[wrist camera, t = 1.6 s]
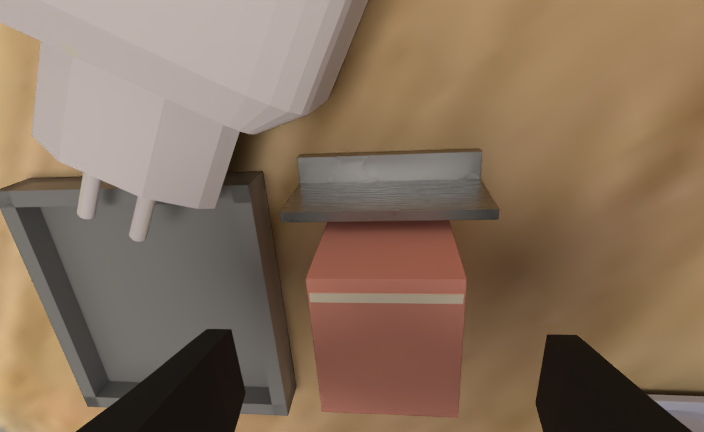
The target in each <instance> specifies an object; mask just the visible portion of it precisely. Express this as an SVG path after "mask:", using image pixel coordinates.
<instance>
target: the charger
mask: <svg viewBox="0 0 704 432" xmlns="http://www.w3.org/2000/svg"><path fill="white" fill-rule="evenodd" d="M367 2H368V0H0V23H2V24H4V25H7V26H9V27H11V28H13V29H15V30H17V31H20V32H22V33H24V34H26V35H28V36H31V37H33V38H35V39H37V40H39V41H41V44H40V55H39V65H38V75H37V85H36V96H35V106H34V116H33V126H32V136H33V137H34V138H35V139H36V140H37V141H38V142H39V143H40V144H41V145H42V146H43V147H44V148H45V149H46V150H47V151H48V152H49V153H50V154H51V155H52V156H53V157H54V158H55V159H56V160H58V161H59V162H61V163H63V164H65V165H68V166H70V167H72V168H75V169H77V170H79V171H81V172H83V177H82V183H81V189H80V195H79V202H78V208H77V214H78V216H79V217H80V218H82V219H92V218H94V217H95V215H96V209H97V204H98V199H99V193H100V188H101V182H102V181H104V182H107V183H109V184H111V185H113V186H116V187H118V188H120V189H123V190H125V191H127V192H129V193H132V194H134V195H136V196H138V197H137V202H136V206H135V210H134V215H133V219H132V223H131V228H130V232H129V236H130V238H131V239H132V240H134V241H137V242H141V241H145V240H146V238H147V234H148V230H149V226H150V222H151V218H152V214H153V211H154V207H155V203H156V201H160V202H165V203H170V204H175V205H180V206H185V207H190V208H195V209H215V206H216V203H217V200H218V197H219V194H220V191H221V188H222V185H223V182H224V179H225V176H226V172H227V169H228V166H229V163H230V160H231V157H232V154H233V151H234V148H235V145H236V142H237V139H238V135H239V132H244V133H247V134H252V135H253V134H258V133H261V132H264V131H266V130H269V129H272V128H274V127H277V126H280V125H282V124H285V123H288V122H290V121H293V120H296V119H298V118H301V117H304V116H306V115H308V114H309V113H311V112H312V111H314V110H315V109H316V108H318V107H319V106H320V105H322V104H323V103H325V102H326V101H327V100H328V98H329V96H330V93H331V91H332V88H333V86H334V83H335V81H336V79H337V76H338V74H339V71H340V69H341V66H342V64H343V61H344V59H345V56H346V54H347V52H348V49H349V47H350V44H351V42H352V39H353V37H354V34H355V32H356V29H357V27H358V24H359V22H360V20H361V17H362V15H363V12H364V10H365V7H366V5H367Z"/></svg>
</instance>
